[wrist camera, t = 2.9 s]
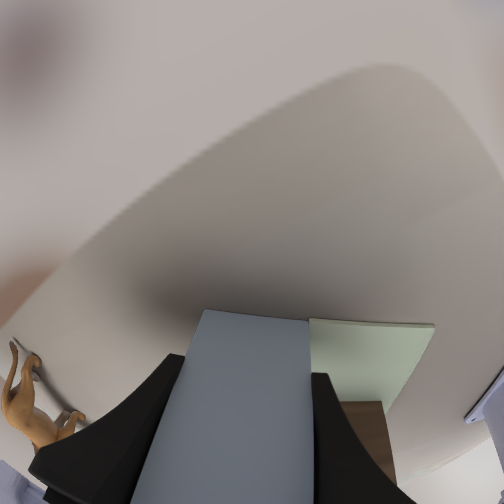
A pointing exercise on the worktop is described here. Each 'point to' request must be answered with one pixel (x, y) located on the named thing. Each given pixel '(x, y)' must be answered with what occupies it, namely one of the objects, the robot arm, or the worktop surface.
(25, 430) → the lion figurine
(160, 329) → the worktop surface
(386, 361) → the mat
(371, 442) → the domino
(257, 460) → the domino
